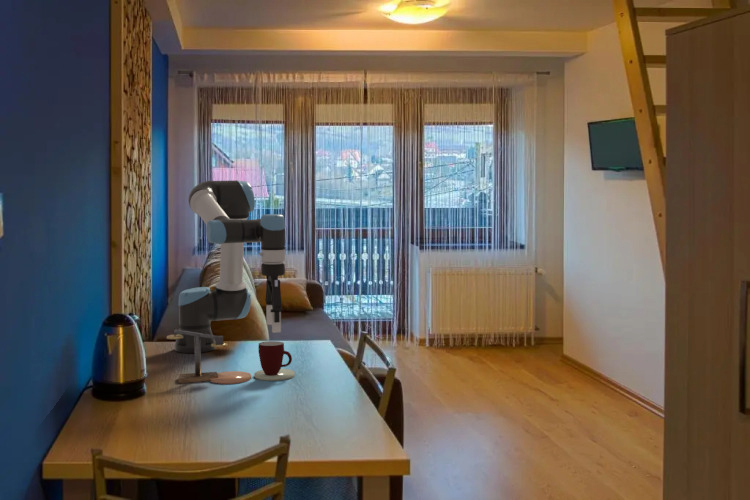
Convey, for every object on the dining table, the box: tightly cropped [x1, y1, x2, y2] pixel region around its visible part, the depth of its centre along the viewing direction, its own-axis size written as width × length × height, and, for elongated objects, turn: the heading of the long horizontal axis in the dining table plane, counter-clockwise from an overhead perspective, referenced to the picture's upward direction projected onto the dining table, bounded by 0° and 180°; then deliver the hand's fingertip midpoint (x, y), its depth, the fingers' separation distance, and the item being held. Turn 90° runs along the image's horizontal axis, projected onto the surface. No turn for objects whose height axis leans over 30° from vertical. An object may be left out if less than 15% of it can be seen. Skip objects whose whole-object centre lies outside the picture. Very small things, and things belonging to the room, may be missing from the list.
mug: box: [258, 340, 293, 376], centre depth 242 cm, size 10×8×10 cm
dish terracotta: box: [209, 370, 252, 385], centre depth 240 cm, size 13×13×1 cm
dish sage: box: [253, 368, 296, 382], centre depth 244 cm, size 13×13×1 cm
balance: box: [166, 329, 228, 384], centre depth 239 cm, size 6×19×16 cm, turn 105°
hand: (273, 328), depth 243 cm, fingers open, 13 cm apart
